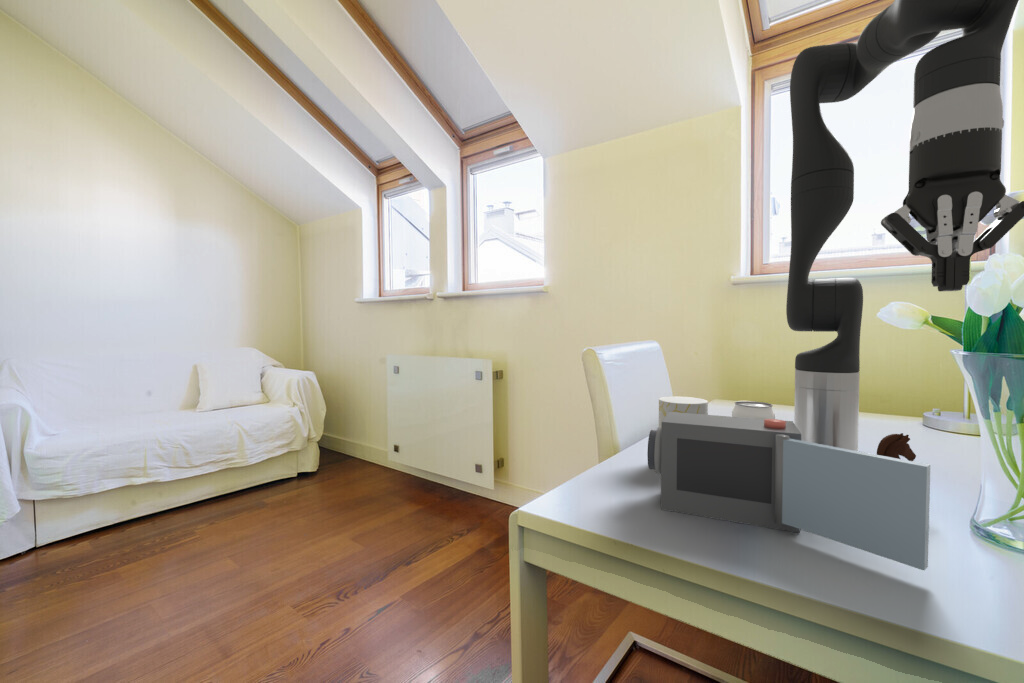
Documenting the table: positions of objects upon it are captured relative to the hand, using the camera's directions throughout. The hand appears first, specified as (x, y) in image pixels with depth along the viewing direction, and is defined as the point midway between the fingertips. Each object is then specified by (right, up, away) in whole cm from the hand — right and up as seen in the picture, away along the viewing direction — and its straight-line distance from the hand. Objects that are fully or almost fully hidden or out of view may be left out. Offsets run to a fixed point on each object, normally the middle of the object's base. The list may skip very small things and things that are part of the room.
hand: (949, 290), depth 51 cm
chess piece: (+3, -29, +10) cm, 31 cm away
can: (-10, -29, +24) cm, 38 cm away
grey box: (-22, -29, +9) cm, 37 cm away
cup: (-20, -29, +28) cm, 45 cm away
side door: (-14, -28, -3) cm, 32 cm away
